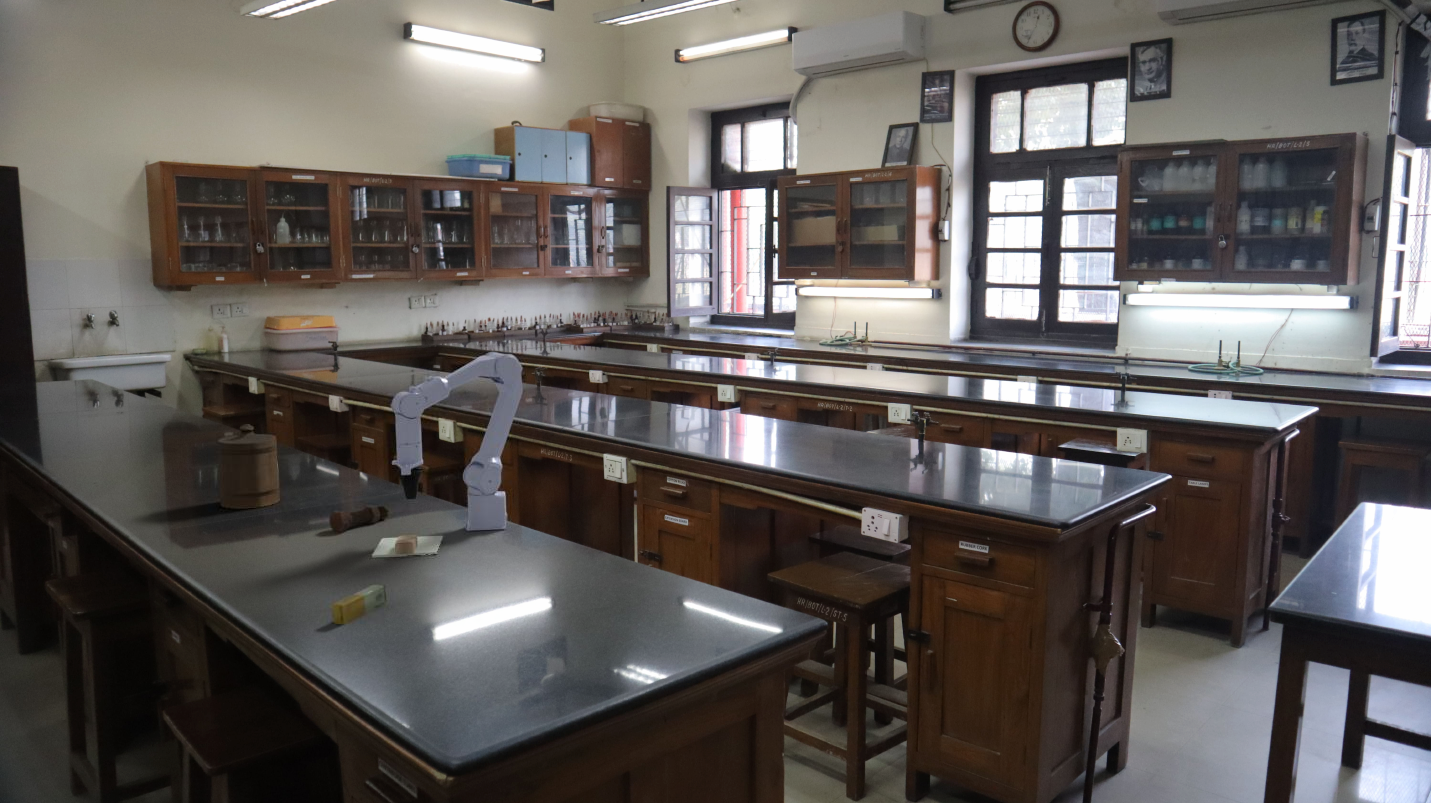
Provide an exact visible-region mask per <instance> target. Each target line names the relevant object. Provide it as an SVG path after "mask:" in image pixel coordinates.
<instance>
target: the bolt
mask: <svg viewBox="0 0 1431 803" xmlns="http://www.w3.org/2000/svg"><path fill="white" fill-rule="evenodd" d="M388 516H389V509H388V508H387V507H385V506H383V505H381V506H378V507H377V506H376V505H367V506H365V507H364V508H363V509H362V510H357V511H352V512H347V513H346V512H345V511H343V510H342V511H341V510H334V511H332V512H331V514H330V516H329V526H330V528H331V529H332V530H333V532H336V533H345V532H346V531H347V529H348V528H349V527H351V526H354V525H359V524H364V523H366V524H371V525H372V524H376V523H378V522H379V520H382V519H386V518H388Z"/></svg>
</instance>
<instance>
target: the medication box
mask: <svg viewBox="0 0 1431 803" xmlns="http://www.w3.org/2000/svg"><path fill="white" fill-rule="evenodd" d="M386 595H387V594H386V585H385V584H378V583H377V584H372V585H370V586H367V587H365V588H364V589H361V590H360V591H357V592H355V593H353V594H351V595H349V596H347V597H345V598H342V599H340V600H338V601H336V602H335V603H332V605H331V608H332V619H333V624H337V625H341V626H342V625H347V624H349V623H351V622H353V621H355V620H358V619H360V618H362V617H364V616H366V615H368V614H369V613H372V612H374V611H375V610H378V609H379V608H383V607H384V606H386V605H387V603H388V602H387V596H386Z"/></svg>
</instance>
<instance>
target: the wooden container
mask: <svg viewBox="0 0 1431 803" xmlns="http://www.w3.org/2000/svg"><path fill="white" fill-rule="evenodd" d="M254 429H255V428H254V426H253V425H251V424H249V423H247V424H242V425H241V426H240V427H239V432H240V433H239V434H238V435H231V436H226V437H221V438H219V439H218V440H217V451H218V453H217V454H218V480H219V497H220V498H219V499H220V506H221V507H222V508H224V507H225V509H229V508H230V509H231V510H249V508H252V509H257V508H258V507H259V508H264V506H265V507H269V506H272V504H273V505H275V504H277V503H279V502H280V500H281V494H280V493H281V491H280V476H279V473H280V472H279V465H278V452H277V448H278V446H277V443H278V442H277V436H276V435H273V434H266V433H265V434H264V433H262V434H261V433H259V434H258V433H254ZM259 508H258V509H259Z"/></svg>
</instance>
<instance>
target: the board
mask: <svg viewBox="0 0 1431 803" xmlns="http://www.w3.org/2000/svg"><path fill="white" fill-rule="evenodd" d="M397 539H398V537H383V538H381V540H380V542H379V543H378V545H377V546H376V548H375V550H374V551H373V553H372V554H371V559H375V558H377V559H378V558H391V557H392V558H394V557H395V558H397V557H408V556H407V555H421V556H432V555H431V554H437V555H438V552H439V550H438V549H440V547H441V544H442V542H441V541H443V539H444V535H428V536H427V535H425V536H424V535H423V536H417V540H418V545H417V547H416V550H415V552H414V553H412V554H395V543H396V541H397ZM439 546H440V547H439ZM437 551H438V552H437ZM426 554H428V555H426Z"/></svg>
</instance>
